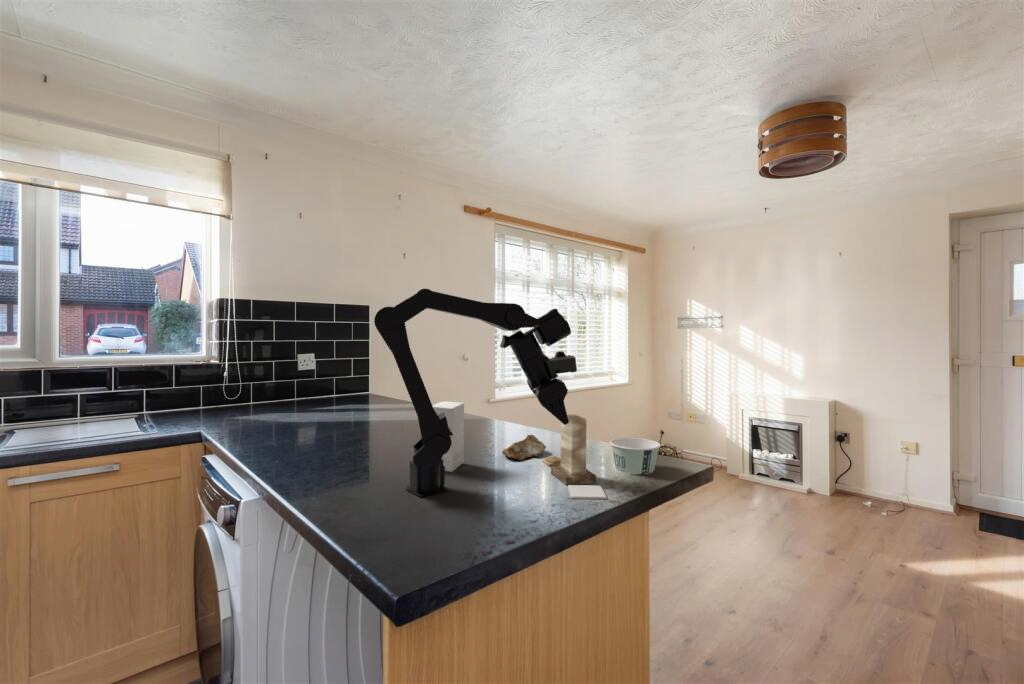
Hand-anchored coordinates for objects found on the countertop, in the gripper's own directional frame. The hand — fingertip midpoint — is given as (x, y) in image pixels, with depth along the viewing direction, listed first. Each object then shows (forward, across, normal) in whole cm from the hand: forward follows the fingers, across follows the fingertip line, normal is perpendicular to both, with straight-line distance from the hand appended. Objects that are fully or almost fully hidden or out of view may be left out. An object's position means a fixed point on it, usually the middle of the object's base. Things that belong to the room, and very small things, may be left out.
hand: (562, 418), depth 104 cm
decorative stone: (+12, +22, +13) cm, 28 cm away
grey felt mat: (+14, -9, +3) cm, 16 cm away
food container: (+22, +7, -10) cm, 26 cm away
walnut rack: (+14, +1, +4) cm, 15 cm away
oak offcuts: (+14, +14, +7) cm, 20 cm away
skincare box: (+1, +12, +30) cm, 33 cm away
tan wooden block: (+14, +1, +4) cm, 15 cm away
